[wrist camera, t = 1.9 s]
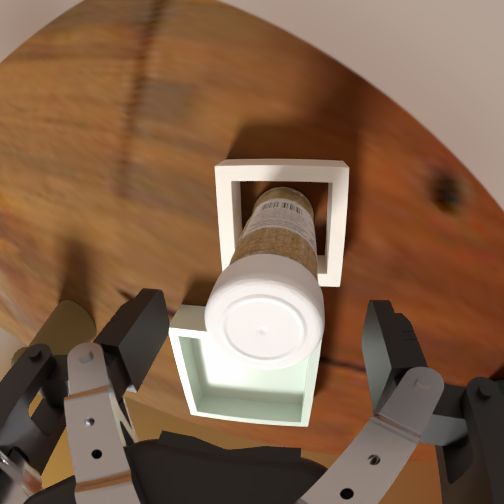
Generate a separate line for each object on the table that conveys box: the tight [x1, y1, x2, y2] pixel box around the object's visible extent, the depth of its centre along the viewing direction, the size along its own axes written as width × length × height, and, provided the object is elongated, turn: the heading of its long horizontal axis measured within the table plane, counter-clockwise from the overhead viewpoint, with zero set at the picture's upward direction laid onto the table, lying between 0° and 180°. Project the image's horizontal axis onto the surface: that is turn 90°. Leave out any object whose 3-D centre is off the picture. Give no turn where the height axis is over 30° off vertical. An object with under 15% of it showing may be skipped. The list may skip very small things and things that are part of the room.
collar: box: [215, 159, 349, 287], centre depth 22 cm, size 8×8×3 cm
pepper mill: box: [11, 300, 96, 394], centre depth 27 cm, size 6×6×11 cm
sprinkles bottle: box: [205, 187, 325, 370], centre depth 17 cm, size 5×5×14 cm
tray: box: [169, 304, 322, 426], centre depth 28 cm, size 13×13×4 cm
